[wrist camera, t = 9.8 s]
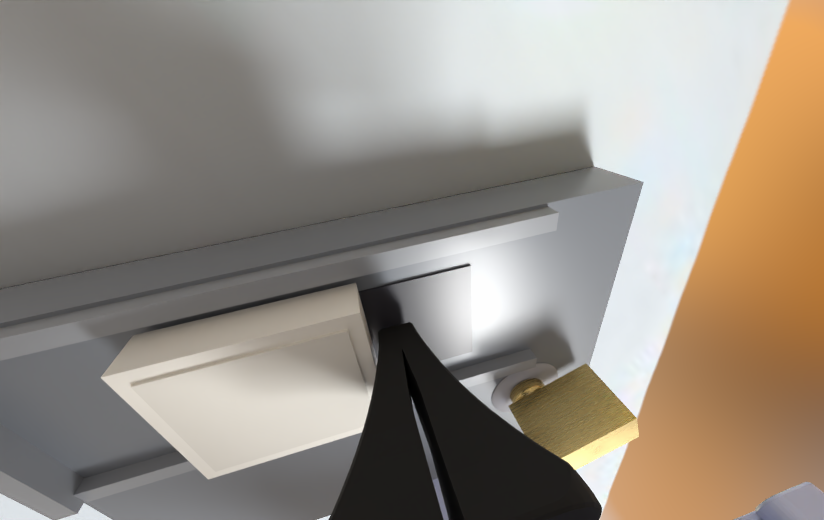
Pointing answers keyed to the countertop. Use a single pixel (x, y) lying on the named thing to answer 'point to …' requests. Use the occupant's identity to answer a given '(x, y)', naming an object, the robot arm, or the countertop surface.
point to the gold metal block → (573, 416)
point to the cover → (253, 379)
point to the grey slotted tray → (286, 278)
